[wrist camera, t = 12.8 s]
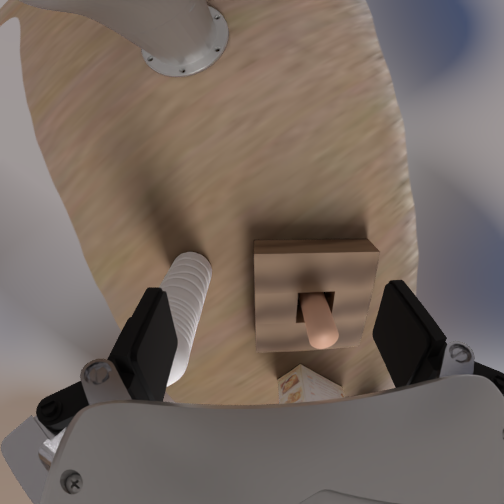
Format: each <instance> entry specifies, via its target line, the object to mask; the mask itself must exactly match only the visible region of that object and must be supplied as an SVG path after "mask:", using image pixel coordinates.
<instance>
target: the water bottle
mask: <svg viewBox="0 0 504 504" xmlns="http://www.w3.org/2000/svg"><path fill="white" fill-rule="evenodd" d="M211 276H212V268H211V265H210V263H209V262H208V260H207V259H206V258H205V257H204V256H202V255H201V254H197V253H196V252H186V253H182V254H180V255H179V256H178V257H177V258H176V259H175V260H174V262H173V264H172V265H171V267H170V269H169V271H168V273H167V274H166V276H165V278H164V280H163V281H162V283H161V285H160V287H159V288H162V290H163V291H166V293H167V297H168V301H169V306H170V310H171V314H172V319H173V323H174V327H175V331H176V335H177V339H178V346H177V350H176V353H175V357H174V361H173V364H172V368H171V371H170V375H169V379H168V383H167V386H169V385H171V384H173V383H174V382H176V381H177V380H178V379H180V378H181V376H182V375H183V374H184V372H185V370H186V368H187V365H188V361H189V355H190V352H191V348H192V344H193V340H194V337H195V333H196V329H197V325H198V322H199V319H200V315H201V312H202V308H203V304H204V301H205V297H206V294H207V290H208V287H209V283H210V280H211Z"/></svg>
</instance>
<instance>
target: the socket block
mask: <svg viewBox="0 0 504 504" xmlns="http://www.w3.org/2000/svg"><path fill="white" fill-rule="evenodd" d="M379 255H380V251H379V250H378V249H377V248H376V247H375V246H374V245H373V244H372V243H371V242H370V241H369V240H368V239H311V240H254V281H255V324H256V353H259V352H291V351H309V350H323V349H317V348H314V347H312V346H311V344H310V342H309V338H308V334H307V330H306V325H305V321H304V317H303V313H302V308H301V305H297V300H298V293H306V292H326V294H325V298H326V301H327V303H328V306H329V308H330V311H331V314H332V316H333V319H334V322H335V324H336V327H337V330H338V333H339V337H338V340H337V341H336V343H335V344H333V345H332V346H330V347H328V348H325V349H335V348H345V347H355V346H359V344H360V340H361V337H362V333H363V329H364V325H365V322H366V318H367V313H368V309H369V305H370V301H371V296H372V291H373V287H374V282H375V277H376V271H377V266H378V260H379Z"/></svg>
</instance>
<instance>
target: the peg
mask: <svg viewBox="0 0 504 504" xmlns="http://www.w3.org/2000/svg"><path fill="white" fill-rule="evenodd" d="M298 296H299V300H300V304H301V308H302V313H303V317H304V321H305V325H306V330H307V334H308V338H309V342H310V344H311V346H312V347H314V348H317V349H325V348H328V347H330V346H332V345H333V344H335V343H336V341H337V340H338V337H339V333H338V330H337V327H336V324H335V322H334V319H333V316H332V314H331V311H330V308H329V306H328V303H327V301H326V298H325V295H324V293H323V292H306V293H298Z"/></svg>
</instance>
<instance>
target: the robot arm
mask: <svg viewBox="0 0 504 504" xmlns="http://www.w3.org/2000/svg"><path fill="white" fill-rule="evenodd" d="M19 1H21V2H23V3H25V4H28V5H31V6H34V7H37V8H41V9H47V10H53V11H60V12H67V13H74V14H79V15H82V16H86V17H88V18H91V19H93V20H95V21H97V22H99V23H101V24H103V25H105V26H106V27H108V28H110V29H111V30H113V31H115V32H117V33H118V34H120V35H121V36H123V37H125V38H126V39H128V40H129V41H131V42H132V43H134V44H136V45H137V46H139V47H140V48H141V52H142V55H143V58H144V60H145V62H146V63H147V65H148V66H149V67H150V68H151V69H153V70H154V71H156V72H158V73H160V74H162V75H166V76H169V77H185V76H190V75H194V74H196V73H199V72H201V71H203V70H205V69H207V68H208V67H210V66H211V65H212V64H213V63H215V62H216V61H217V60H218V59H219V57H220V56H221V55H222V54H223V52H224V50H225V48H226V46H227V43H228V38H229V31H228V26H227V22H226V20H225V19H224V17H223V16H222V15H221V13H220V12H219V11H217V10H216V9H214V8H213V7H210V6H208V5H207V3H206V0H19ZM217 18H219V19H218V20H216V19H217ZM216 50H220V51H218V52H216ZM152 59H153V60H152ZM151 60H152V61H151ZM183 70H185V72H184V73H182V72H183ZM373 339H374V341H375V343H376V345H377V347H378V349H379V351H380V354H381V356H382V358H383V360H384V362H385V364H386V367H387V369H388V371H389V373H390V376H391V378H392V380H393V382H394V385H395V387H396V388H394V389H389V390H384V391H379V392H374V393H369V394H363V395H357V396H350V397H344V398H337V399H329V400H320V401H311V402H300V403H286V404H266V405H210V404H189V403H174V402H163V398H164V394H165V390H166V387H167V383H168V379H169V375H170V371H171V368H172V364H173V361H174V357H175V353H176V350H177V346H178V339H177V335H176V331H175V327H174V323H173V319H172V314H171V310H170V306H169V301H168V297H167V293H166V291H163V290H162V288H147V289H146V291H145V293H144V295H143V297H142V298H141V300H140V302H139V304H138V306H137V308H136V310H135V311H134V313H133V315H132V317H130V318H129V319H128V320H127V322H126V324H125V326H124V328H123V330H122V332H121V334H120V335H119V337H118V339H117V341H116V343H115V345H114V347H113V349H112V351H111V353H110V356H109V357H108V359H107V360H106V359H96V360H92V361H91V362H89V363H87V364H86V365H85V366H84V367H83V369H82V370H81V374H80V378H81V381H79V382H77V383H75V384H73V385H71V386H69V387H67V388H65V389H63V390H60V391H58V392H56V393H54V394H52V395H50V396H48V397H46V398H44V399H42V401H41V402H40V403H39V405H38V407H37V411H36V414H37V416H35V417H33V416H32V415H31V416H30V417H29V418H28V419H26V420H25V421H24V422H23V423H22V424H20V426H18V427H17V428H16V429H15V430H13V431H12V432H11V433H10V434H9V435H8V436H7V437H5V438H4V440H3V441H2V445H1V451H2V454H3V456H4V458H5V460H6V462H7V464H8V465H9V467H10V469H11V470H12V472H13V474H14V475H15V477H16V479H17V480H18V481H19V483H20V485H21V486H22V488H23V489H24V491H25V492H26V494H27V495H28V497H29V498H30V499H31V501H32V502H33V503H34V504H504V374H503V373H501V372H499V371H497V370H494V369H492V368H489V367H487V366H484V365H482V364H480V363H477V362H475V361H474V359H475V357H474V353H473V351H472V349H471V348H470V347H469V346H468V345H466V344H465V343H462V342H459V341H453V342H450V343H449V344H448V345H447V343H446V342H445V341H446V339H447V338H446V336H445V335H444V333H443V332H442V331H441V329H440V328H439V326H438V325H437V324H436V322H435V321H434V320H433V318H432V317H431V316H430V314H429V313H428V312H427V310H426V309H425V308H424V306H423V305H422V304H421V302H420V301H419V300H418V299H417V297H416V296H415V295H414V293H413V292H412V291H411V290H410V288H409V287H408V286H407V285H406V284H405V282H404V281H403V280H392V281H389V283H388V284H386V286H385V289H384V293H383V297H382V300H381V304H380V308H379V311H378V315H377V318H376V322H375V325H374V329H373Z"/></svg>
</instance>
